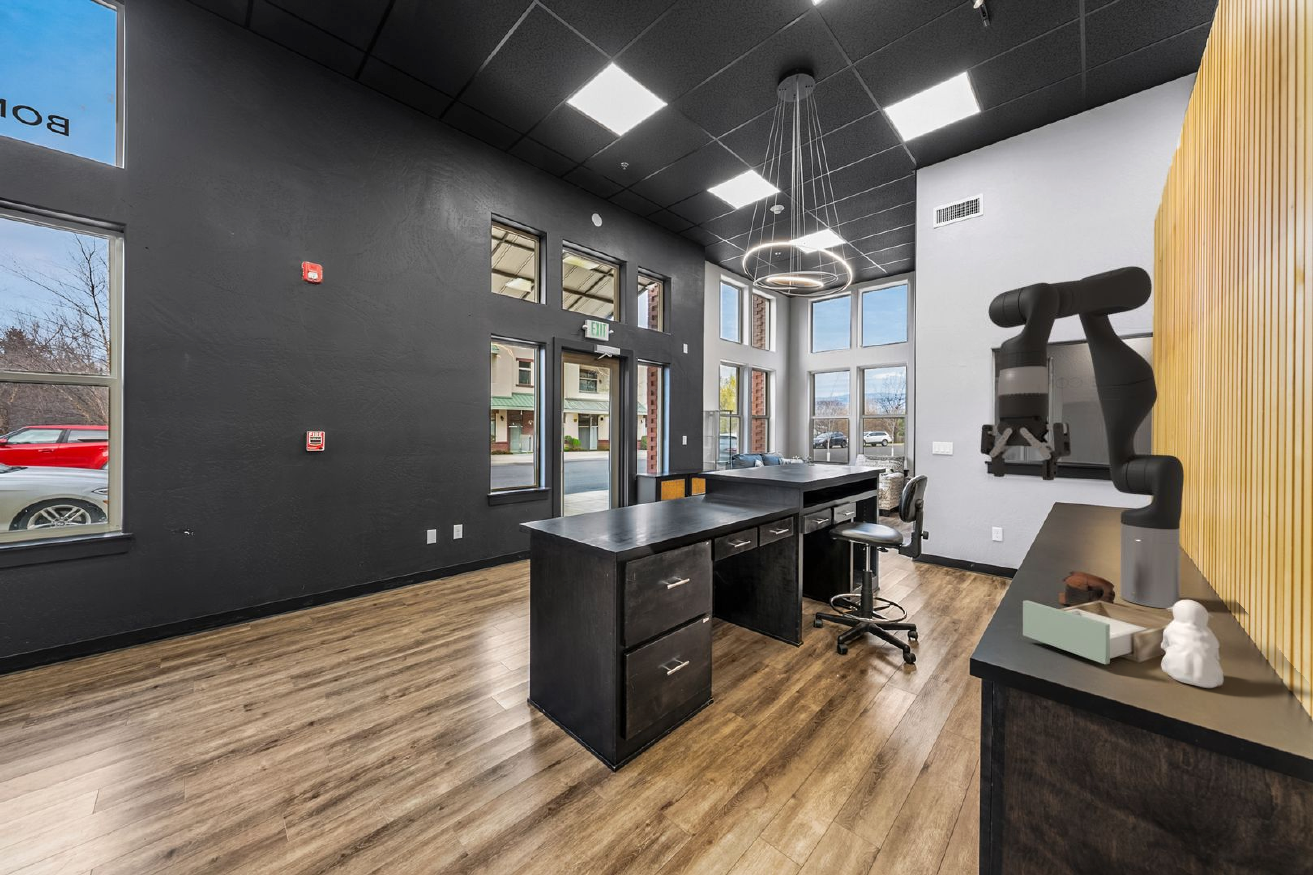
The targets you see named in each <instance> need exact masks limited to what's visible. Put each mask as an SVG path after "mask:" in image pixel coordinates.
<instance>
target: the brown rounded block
mask: <svg viewBox="0 0 1313 875" xmlns="http://www.w3.org/2000/svg"><path fill="white" fill-rule="evenodd" d="M1069 574H1070V575H1068V576H1066V577H1064V578H1063V579H1062V580H1061V581H1062V582H1064V583H1065V584H1066V585H1065V592H1060V593H1059V594H1058V602H1059V603H1060V604H1066V605H1069V606H1070V607H1072V606H1077V605H1081V604H1086V603H1090V602H1095V601H1103V602H1107V603H1111V604H1115V602H1114V600H1115V598H1116V592H1115V591H1114V589H1115V585H1114V583H1112V582H1110V581H1109V580H1107V579H1105V578H1103V577H1100V576H1098V575H1094V574H1091V573H1089V572H1088V573H1087V572H1083V571H1076V570H1075V571H1074V570H1072V571H1070V572H1069ZM1059 603H1058V604H1059Z"/></svg>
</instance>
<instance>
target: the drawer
mask: <svg viewBox="0 0 1313 875" xmlns="http://www.w3.org/2000/svg"><path fill="white" fill-rule="evenodd" d="M1059 609H1060V608H1055V607H1052V606H1049V605H1045V604H1042V603H1037V602H1035V601H1031V600H1028V599H1027V600H1023V601H1022V636H1024V637H1027V638H1030V639H1033V640H1035V641H1039V642H1041V643H1044V644H1046V645H1050V646H1053V647H1055V648H1058V649H1060V650H1064V651H1067V652H1068V653H1069V652H1070V653H1072V654H1075V655H1078V656H1080V657H1083V658H1085V659H1089V660H1092V661H1095V662H1098V663H1100V664H1102V665H1103V664H1104V665H1109V664H1110V662H1111V659H1113V658H1116V657H1120V655H1123V654H1127V653H1130V652H1133V651H1134V634H1136V633H1140V632H1143V631H1147V628H1143V627H1140V626H1136V625H1133V624H1129V623H1126V622H1122V621H1119V620H1115V619H1111V618H1108V617H1104V616H1101V615H1097V614H1094V613H1090V612H1087V611H1083V610H1079V609H1073V610H1068V611H1062V610H1059Z"/></svg>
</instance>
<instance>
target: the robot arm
mask: <svg viewBox="0 0 1313 875" xmlns="http://www.w3.org/2000/svg"><path fill="white" fill-rule="evenodd" d="M1152 290H1153V286H1152V279H1151V276H1150V275H1149V273H1148V272H1147V271H1146V270H1145V269H1144V268H1143V267H1139V266H1125V267H1123V266H1122V267H1120V268H1116V269H1111V270H1107V271H1104V272H1099V273H1096V274H1093V275H1089V276H1088V275H1087V276H1086V277H1083V278H1081V279H1079V280H1077V279H1076V280H1069V281H1060V282H1054V283H1049V282H1048V283H1047V282H1037V283H1033V284H1029V285H1026V286H1022V287H1018V288H1015V289H1010V290H1008V291H1004V292H1001V293H999V294H998V295H997V296H995V297H994V298H993V299H992V301H991V302H990V304H989V306H988V317H989V319H990V321H991V322H992V323H993V324H994V325H996V326H997V327H999V328H1002V329H1003V328H1004V329H1011V328H1015V327H1019V326H1023V329H1022V331H1021V332H1020V333H1019V334H1017V335H1016V336H1013V337H1011V338H1007V340H1005V341H1003V342H1002V343H1001V345H1000V348H999V349H1000V350H999V370H1000V371H999V375H998V376H999V378H998V383H997V384H998V387H997V388H998V389H997V392H998V394H997V397H998V400H997V401H998V402H997V403H998V404H997V406H998V407H997V410H998V411H997V413H998V418H999V422H998V424H997V425H996V424H990V423H987V424H983V425H982V426H981V437H980V438H981V439H980V453H981V454H982V455H987V456H988V457H990V458H991V460H990V461H991V473H992V475H993V477H995V478H1003V477H1004V476H1005V473H1006V472H1005V471H1006V470H1005V466H1006V465H1005V464H1006V463H1005V461H1006V460H1005V457H1004V456H1005V455H1006V453H1008V451H1009V450H1010V449H1012V448H1013V447H1033V448H1034V449H1033V450H1036V451H1037V452H1038V453H1039V454H1040V455H1041V457H1043V459H1042V461H1041V462H1042V464H1041V465H1042V468H1041V469H1042V472H1041V473H1042V477H1041V478H1042V480H1043V481H1054V479H1055V478H1057V476H1058V460H1059V459H1061V458H1064V457H1069V456H1070V455H1071V454H1072V450H1071V437H1070V436H1071V435H1070V424H1069V423H1067V422H1054V423H1049V421H1048V417H1049V376H1048V370H1047V366H1048V365H1047V364H1048V362H1047V361H1048V360H1047V359H1048V358H1047V356H1048V355H1047V353H1048V352H1047V350H1048V349H1047V347H1048V343H1049V339H1050V337H1051V333H1052V330H1053V326H1054V323H1055V321H1056V320H1059V319H1063V318H1064V319H1065V318H1069V317H1074V316H1077V315H1078V318H1079V320H1080V323H1081V326H1082V328H1083V333H1084V335H1085V339H1086V342H1087V345H1088V348H1089V352H1090V358H1091V362H1092V367H1093V374H1094V379H1095V380H1094V381H1095V385H1096V386H1095V387H1096V390H1097V395H1098V400H1099V404H1100V408H1101V411H1102V412H1101V413H1102V416H1103V422H1104V426H1105V433H1106V439H1107V440H1106V441H1107V451H1108V454H1107V455H1108V462H1109V472H1110V473H1109V474H1110V478H1111V481H1112V484H1113V486H1114V488H1115V489H1116V490H1117V491H1118V492H1120V493H1123V494H1131V495H1141V496H1152V500H1151V503H1149V504H1148V505H1145V506H1142V507H1138V508H1132V509H1126V510H1123V511H1122V512H1121V513H1120V598H1121V599H1123V600H1125V601H1127V602H1130V603H1133V604H1137V605H1142V606H1144V607H1145V606H1146V607H1151V608H1159V609H1165V610H1167V609H1168V608H1170V607H1173V606H1174V604H1175V603H1176V602H1178V601H1181V597H1180V596H1181V595H1180V593H1181V592H1180V591H1181V590H1180V588H1181V585H1180V584H1181V583H1180V581H1181V576H1180V575H1181V574H1180V573H1181V572H1180V571H1181V570H1180V566H1181V564H1180V563H1181V558H1180V556H1181V552H1180V549H1181V547H1180V546H1181V545H1180V544H1181V543H1180V538H1181V536H1180V535H1181V534H1180V532H1181V530H1180V527H1181V525H1180V524H1181V517H1182V510H1183V509H1182V508H1183V507H1182V506H1183V504H1182V503H1183V493H1184V492H1183V491H1184V480H1185V479H1184V478H1185V474H1184V467H1183V463H1182V461H1181V460H1180V459H1179V458H1178V457H1176V456H1174V455H1168V454H1145V453H1144V454H1143V453H1142V454H1137V453H1136V452H1135V448H1134V446H1135V445H1134V442H1135V436H1136V433H1137V431H1138V429H1139V427H1140V426H1141V424H1142V423H1143V422H1144V421H1145V419H1146V418H1147V416H1148V415H1149V414H1150V412H1151V410H1152V409H1153V407H1154V405H1155V404H1156V401H1157V398H1158V390H1157V384H1156V379H1155V375H1154V370H1153V367H1152V366H1151V364H1150V363H1149V362H1148V361H1147V360H1146V359H1145V358H1144V357H1143V356H1142V355H1141V354H1140V353H1138V352H1137V351H1136V350H1134V349H1133V348H1132V347H1131V346H1130V345H1128V344H1127V343H1125V341H1124V340H1122V339H1121V338H1120V337H1119V336H1118V335H1117V333H1116V331H1115V330H1114V327H1113V326H1112V323H1111V321H1110V318H1109V316H1110V315H1114V314H1115V315H1116V314H1121V313H1126V312H1130V311H1134V310H1136V309H1139V308H1141V307H1142V306H1144V305H1145V304H1146V303H1147V302H1148V300H1149V299H1150V297H1151V295H1152ZM1048 432H1050V434H1051V435H1052V436H1053V444H1052V443H1051V442H1050V441H1049V439H1048V438H1047V437H1046V435H1047V434H1048ZM998 433H999V435H1000V438H999V439H998V440H997V441H996V436H997V435H998ZM1053 446H1054V447H1053ZM1172 609H1173V608H1172ZM1168 610H1169V609H1168Z"/></svg>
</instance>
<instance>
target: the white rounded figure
mask: <svg viewBox="0 0 1313 875" xmlns="http://www.w3.org/2000/svg"><path fill="white" fill-rule="evenodd" d="M1172 608H1173V609H1172ZM1166 610H1168V612H1170V611H1172V616H1173V621H1172V622H1171V623H1170V624H1169V625H1168V626H1167V627H1166V628H1165V629H1164V633H1163V642H1162V643H1161V648H1163V649H1164V650H1165V651H1166V654H1164V656H1163V658H1162V660H1161V663H1160V667H1161V669H1162V672H1164V673H1165V674H1167V675H1169V677H1170V678H1172V679H1174V680H1176V681H1178V682H1180V683H1183V684H1187V685H1192V686H1196V687H1198V688H1206V689H1213V688H1216V687H1220V686H1222V685H1223V683H1224V671H1223V669H1222V667H1221V665H1220V662H1219V661H1220V660H1221V658H1220V653H1219V648H1220V643H1219V641H1218V639H1217V637H1216V635H1215V634H1214V633H1213V631H1212V629H1211V628H1210V627H1209V626H1208V622H1209V618H1210V619H1211V618H1214V616H1213V615H1211V614H1210V613H1209V612H1208V610H1207V609H1206V608H1205V606H1204V605H1202V604H1201V603H1199V602H1197V601H1195V600H1192V599H1180V601H1178V602H1176V603H1175V604H1174V606H1173V607H1170V608H1168V609H1166Z"/></svg>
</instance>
